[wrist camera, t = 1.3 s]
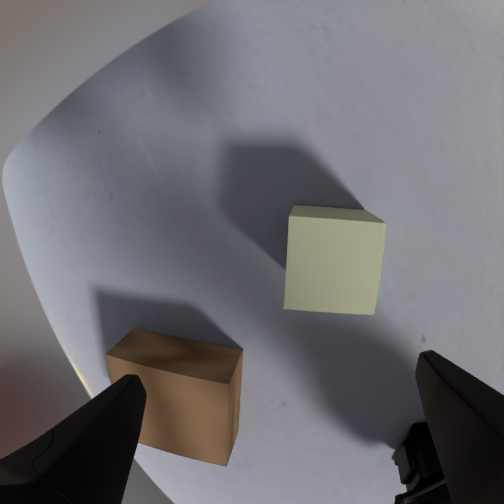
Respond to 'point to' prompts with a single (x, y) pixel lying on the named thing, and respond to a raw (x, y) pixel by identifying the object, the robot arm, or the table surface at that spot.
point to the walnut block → (183, 392)
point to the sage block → (333, 260)
